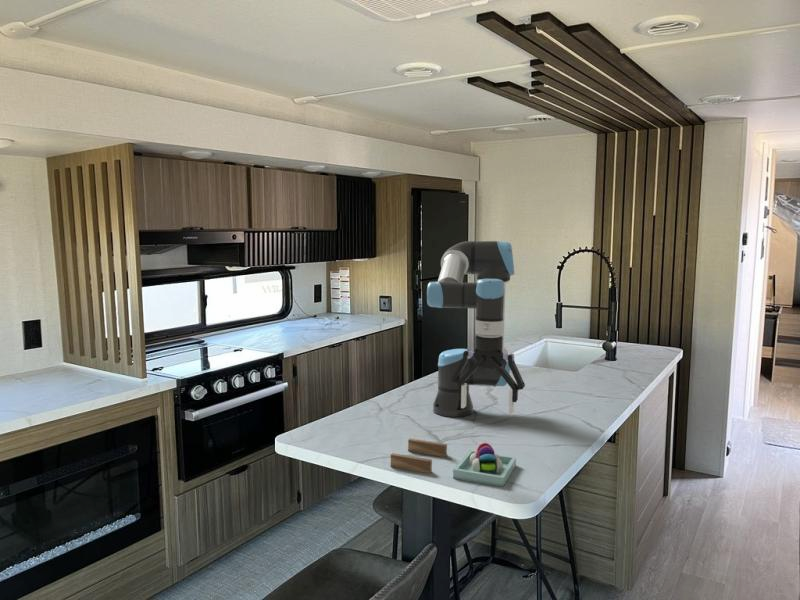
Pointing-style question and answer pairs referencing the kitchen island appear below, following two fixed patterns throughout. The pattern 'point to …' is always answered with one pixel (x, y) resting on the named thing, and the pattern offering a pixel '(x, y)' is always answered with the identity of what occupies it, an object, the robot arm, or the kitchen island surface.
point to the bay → (418, 462)
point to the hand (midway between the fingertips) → (487, 409)
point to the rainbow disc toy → (485, 459)
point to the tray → (484, 471)
